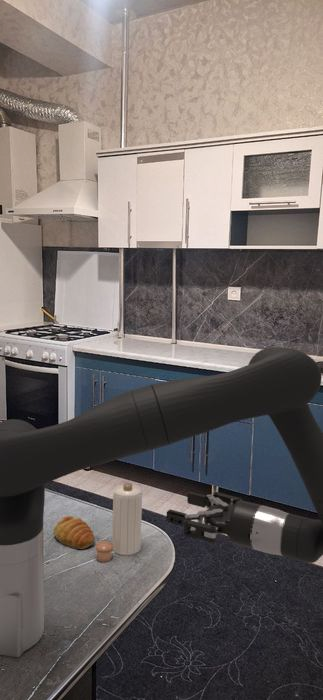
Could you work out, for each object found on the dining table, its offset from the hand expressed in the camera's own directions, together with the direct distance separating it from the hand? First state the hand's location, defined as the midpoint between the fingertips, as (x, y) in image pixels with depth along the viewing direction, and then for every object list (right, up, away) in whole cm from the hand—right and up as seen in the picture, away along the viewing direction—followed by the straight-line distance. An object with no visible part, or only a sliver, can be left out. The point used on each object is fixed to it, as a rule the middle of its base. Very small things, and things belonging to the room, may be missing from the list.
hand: (178, 506), depth 95 cm
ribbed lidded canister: (-10, -11, +7) cm, 16 cm away
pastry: (-21, -10, +10) cm, 26 cm away
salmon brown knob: (-15, -11, +3) cm, 19 cm away
